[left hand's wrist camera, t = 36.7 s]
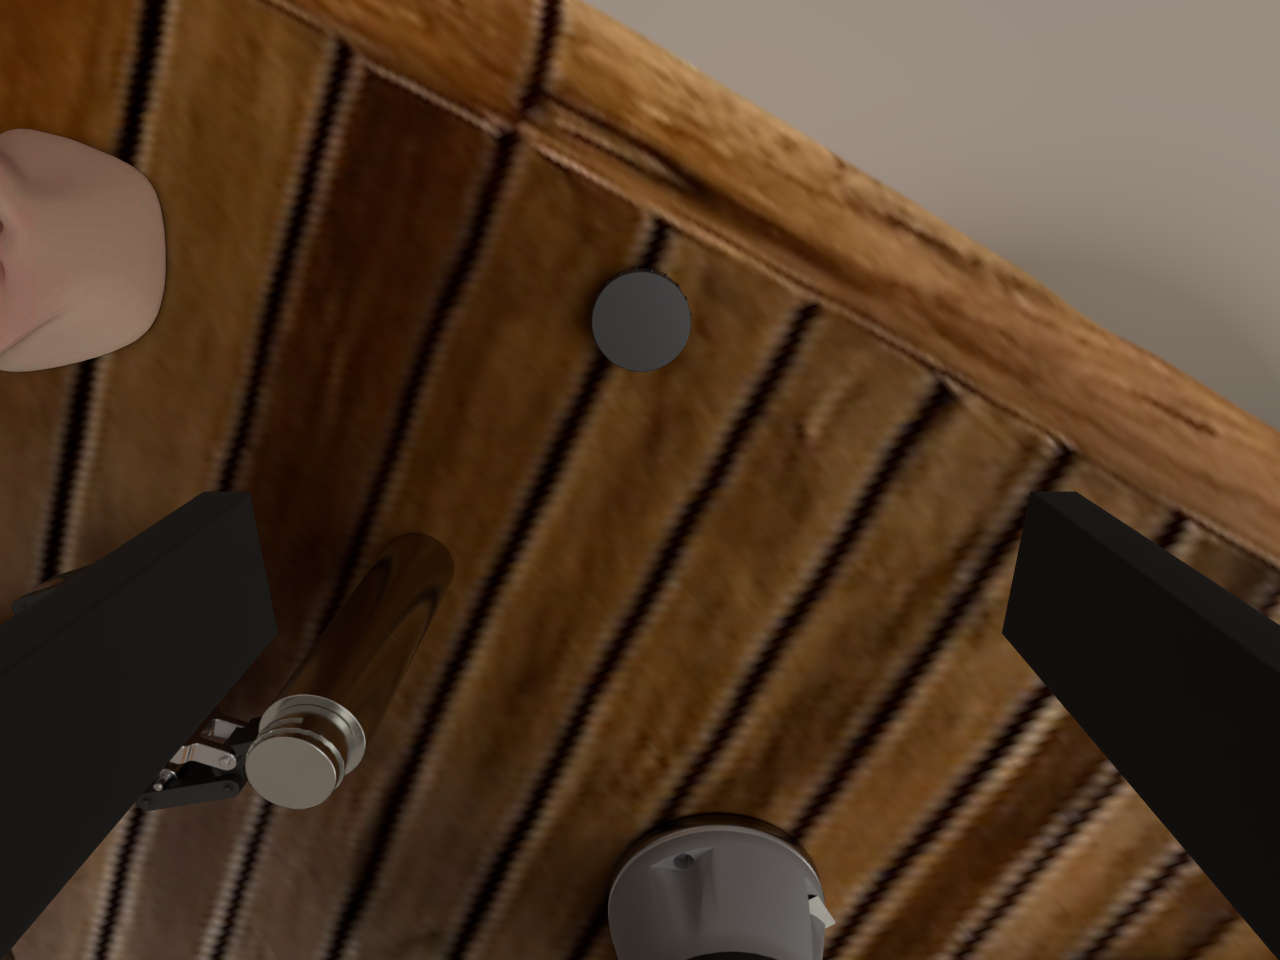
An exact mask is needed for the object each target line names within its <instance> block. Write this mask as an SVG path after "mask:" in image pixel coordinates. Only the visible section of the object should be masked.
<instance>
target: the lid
mask: <svg viewBox="0 0 1280 960" xmlns="http://www.w3.org/2000/svg"><path fill="white" fill-rule="evenodd" d="M597 297H598V298H597V300H596V303H595V305H594V306H593V308H592V311H591V312H593V313H592V324H591V328H592V330H593V335H594V338H595V342H596V343H597V345H598V347H599V348H600V350H601V352H602V353H603V354H604V355H605V356H606V357H607V358H608V359H609V360H610V361H611V362H613V363H614V364H616V365H617V366H619V367H621V368H624V369H627V370H631V371H637V372H646V371H652V370H656V369H659V368H661V367H663V366H665V365H667V364H668V363H670V362H671V361H672V360H674V359H675V358H676V357H677V356H678V355H679V353H680V352H681V351H682V349H683V348H684V347H685V344H686V342H687V339H688V336H689V333H690V326H691V317H692V315H691V313H690V311H689V307H688V304H687V302H688V300H687V298H686V296H685V297H684V295H683V293H682V292H681V290H680V286H679V284H678V283H677V284H676V283H675V282H674V281H673V280H672V279H670V278H669V277H668V275H667V274H666V273H665V274H663V273H661V272H658V271H656V270H653V268H651V269H646V268H637V267H635V269H630V270H627V271H624V272H623V271H620V274H618V275H616V276H615V277H613V278H612V279H611V280H610V279H608V281H607V283H606V285H605V286H604V287H603V289H602V290H601V292H600V291H599V292H598V294H597Z"/></svg>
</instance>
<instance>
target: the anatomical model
mask: <svg viewBox="0 0 1280 960" xmlns="http://www.w3.org/2000/svg"><path fill="white" fill-rule="evenodd" d="M165 275H166V247H165V232H164V224H163V217H162V211H161V207H160V203H159V200H158V197H157V195H156V192H155V190H154V188H153V187H152V185H151V183H150V182H149V181H148V179H147V178H146V177H145V176H144V175H143V174H142V173H141V172H139V171H138V170H137V169H135V168H134V167H132V166H131V165H129V164H127V163H125V162H123V161H122V160H120V159H118V158H116V157H114V156H112V155H109V154H107V153H104V152H102V151H100V150H97V149H95V148H92V147H90V146H87V145H85V144H83V143H80V142H77V141H74V140H72V139H69V138H65V137H61V136H57V135H53V134H49V133H45V132H41V131H36V130H31V129H13V130H9V131H7V132H4V133H2V134H0V370H3V371H11V372H23V371H35V370H42V369H49V368H55V367H60V366H64V365H68V364H73V363H77V362H81V361H84V360H88V359H92V358H95V357H98V356H101V355H104V354H107V353H110V352H113V351H115V350H118V349H120V348H122V347H125V346H127V345H129V344H130V343H132V342H134V341H136V340H137V339H138V338H140V337H141V336H142V335H143V334H144V333H146V332H147V330H148V329H149V328H150V327H151V325H152V324H153V322H154V320H155V318H156V316H157V314H158V311H159V308H160V305H161V301H162V297H163V292H164V285H165Z"/></svg>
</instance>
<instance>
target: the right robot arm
mask: <svg viewBox="0 0 1280 960" xmlns="http://www.w3.org/2000/svg"><path fill="white" fill-rule="evenodd" d="M92 565H93V564H92ZM90 566H91V565H89V566H85V567H82V568H79V569H76V570H73V571H70V572H66V573H63V574H60V575H57V576H54V577H52V578H50V579H49V580H47V581H46V582H44V583H43V584H41V585H39V586H38V587H36V588H35V589H33V590H31V591H30V592H28V593H27V594H25V595H24V596H22V597H21V598H19V599H18V600H16V601H15V602H14V603H13V605H12V609H13V612H14V613H15V615H17V614H18V613H20V612H21V611H23V610H24V609H26V608H27V607H29V606H31V605H32V604H34V603H35V602H37V601H38V600H40V599H41V598H43V597H44V596H46V595H47V594H49V593H50V592H52V591H53V590H55V589H56V588H58V587H59V586H61V585H63V584H64V583H66V582H67V581H69V580H70V579H72V578H73V577H75V576H76V575H78V574H79V573H81V572H82V571H84V570H85V569H87V568H88V567H90ZM261 718H262V717H257V718H253V719H251V720H250V722H249V723H248V722H245V721H242V720H239V719H235V718H232V717H229V716H226V715H223V714H221V713H220V708H219V707H218V706H216V707H215V708H214V709H213V711H212V712H211V713H210V714H209V715H208V717H207V718H206V719H205V720H204V721H203V722H202V724H201V725H200V726H199V727H198V728H197V730H196V731H195V732H194V733H193V734H192V735H191V737H190V738H189V739H188V740H187V741H186V743H185V744H184V745H183V746H182V747H181V748H180V750H179V751H178V752H177V753H176V754H175V756H174V757H173V758H172V759H171V760H170V761H169V763H168V764H167V765H166V766H165V767H164V769H163V770H162V771H161V772H160V773H159V774H158V776H157V777H156V778H155V779H154V780H153V782H152V783H151V784H150V785H149V786H148V787H147V789H146V790H145V791H144V792H143V793H142V795H141V796H140V797H139V798H138V799H137V800H136V804H137V806H138V807H140V808H141V809H143V810H147V811H150V810H157V809H163V808H170V807H176V806H182V805H189V804H195V803H201V802H208V801H214V800H220V799H227V798H233V797H236V796H237V795H238V794H239V793H240V791H241V790H242V788H243V787H244V785H245V784H246V782H247V781H248V778H247V775H246V770H245V762H246V754H247V752H248V750H249V748H250V746H251V744H252V743H253V741H254V740H255V739H256V738H257V736H258V735H259V724H260V720H261ZM208 736H216V737H219V738H222V739H225V740H226V741H225V743H224V744H220V743H217V742H214V741H210V740H207V739H205V738H206V737H208ZM2 960H13V959H12V957H11V954H10V952H8V953H7V954H6V955H5V956H4V958H3V959H2Z"/></svg>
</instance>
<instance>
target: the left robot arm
mask: <svg viewBox="0 0 1280 960" xmlns="http://www.w3.org/2000/svg"><path fill="white" fill-rule="evenodd" d="M277 634H278V630H277V625H276V621H275V616H274V611H273V606H272V601H271V596H270V591H269V586H268V581H267V576H266V571H265V566H264V561H263V556H262V551H261V546H260V541H259V536H258V531H257V526H256V521H255V516H254V511H253V506H252V501H251V496H250V492H203V493H201V494H200V495H198V496H197V497H195V498H194V499H192V500H190V501H189V502H187V503H186V504H184V505H183V506H181V507H180V508H178V509H177V510H175V511H174V512H172V513H171V514H169V515H168V516H166V517H165V518H163V519H162V520H160V521H158V522H157V523H155V524H154V525H152V526H151V527H149V528H148V529H146V530H145V531H143V532H142V533H140V534H139V535H137V536H136V537H134V538H133V539H131V540H130V541H128V542H127V543H125V544H123V545H122V546H120V547H119V548H117V549H116V550H114V551H113V552H111V553H110V554H108V555H107V556H105V557H104V558H102V559H101V560H99V561H98V562H96V563H95V564H93V565H91V566H90V567H88V568H87V569H85V570H84V571H82V572H81V573H79V574H78V575H76V576H75V577H73V578H72V579H70V580H69V581H67V582H66V583H64V584H63V585H61V586H59V587H58V588H56V589H55V590H53V591H52V592H50V593H49V594H47V595H46V596H44V597H43V598H41V599H40V600H38V601H37V602H35V603H34V604H32V605H31V606H29V607H27V608H26V609H24V610H23V611H21V612H20V613H18V614H17V615H15V616H14V617H12V618H11V619H9V620H8V621H6V622H5V623H3V624H2V625H0V960H2V959H3V958H4V956H5V955H6V954H7V953H8V952H9V951H10V949H11V948H12V947H13V946H14V945H15V943H16V942H17V941H18V940H19V939H20V938H21V936H22V935H23V934H24V933H25V932H26V930H27V929H28V928H29V927H30V926H31V925H32V923H33V922H34V921H35V920H36V919H37V917H38V916H39V915H40V914H41V913H42V912H43V910H44V909H45V908H46V907H47V906H48V904H49V903H50V902H51V901H52V900H53V899H54V897H55V896H56V895H57V894H58V893H59V891H60V890H61V889H62V888H63V887H64V886H65V884H66V883H67V882H68V881H69V880H70V878H71V877H72V876H73V875H74V874H75V873H76V871H77V870H78V869H79V868H80V867H81V865H82V864H83V863H84V862H85V861H86V860H87V858H88V857H89V856H90V855H91V854H92V852H93V851H94V850H95V849H96V848H97V847H98V845H99V844H100V843H101V842H102V841H103V839H104V838H105V837H106V836H107V835H108V834H109V832H110V831H111V830H112V829H113V828H114V826H115V825H116V824H117V823H118V822H119V821H120V819H121V818H122V817H123V816H124V815H125V813H126V812H127V811H128V810H129V809H130V808H131V806H132V805H133V804H134V803H135V802H136V800H137V799H138V798H139V797H140V796H141V795H142V793H143V792H144V791H145V790H146V789H147V787H148V786H149V785H150V784H151V783H152V782H153V780H154V779H155V778H156V777H157V776H158V774H159V773H160V772H161V771H162V770H163V769H164V767H165V766H166V765H167V764H168V763H169V761H170V760H171V759H172V758H173V757H174V756H175V754H176V753H177V752H178V751H179V750H180V748H181V747H182V746H183V745H184V744H185V743H186V741H187V740H188V739H189V738H190V737H191V735H192V734H193V733H194V732H195V731H196V730H197V728H198V727H199V726H200V725H201V724H202V722H203V721H204V720H205V719H206V718H207V717H208V715H209V714H210V713H211V712H212V711H213V709H214V708H215V707H216V706H217V705H218V704H219V702H220V701H221V700H222V699H223V698H224V696H225V695H226V694H227V693H228V692H229V691H230V689H231V688H232V687H233V686H234V685H235V683H236V682H237V681H238V680H239V679H240V678H241V676H242V675H243V674H244V673H245V672H246V670H247V669H248V668H249V667H250V666H251V665H252V663H253V662H254V661H255V660H256V659H257V657H258V656H259V655H260V654H261V653H262V652H263V650H264V649H265V648H266V647H267V646H268V644H269V643H270V642H271V641H272V640H273V639H274V637H275V636H276V635H277ZM1002 634H1003V635H1004V636H1005V637H1006V639H1007V640H1008V641H1009V642H1010V643H1011V644H1012V646H1013V647H1014V648H1015V649H1016V650H1017V652H1018V653H1019V654H1020V655H1021V656H1022V657H1023V659H1024V660H1025V661H1026V662H1027V663H1028V665H1029V666H1030V667H1031V668H1032V669H1033V670H1034V672H1035V673H1036V674H1037V675H1038V676H1039V678H1040V679H1041V680H1042V681H1043V682H1044V683H1045V685H1046V686H1047V687H1048V688H1049V689H1050V691H1051V692H1052V693H1053V694H1054V695H1055V696H1056V698H1057V699H1058V700H1059V701H1060V702H1061V704H1062V705H1063V706H1064V707H1065V708H1066V709H1067V711H1068V712H1069V713H1070V714H1071V715H1072V717H1073V718H1074V719H1075V720H1076V721H1077V722H1078V724H1079V725H1080V726H1081V727H1082V728H1083V730H1084V731H1085V732H1086V733H1087V734H1088V735H1089V737H1090V738H1091V739H1092V740H1093V741H1094V743H1095V744H1096V745H1097V746H1098V747H1099V748H1100V750H1101V751H1102V752H1103V753H1104V754H1105V756H1106V757H1107V758H1108V759H1109V760H1110V761H1111V763H1112V764H1113V765H1114V766H1115V767H1116V769H1117V770H1118V771H1119V772H1120V773H1121V774H1122V776H1123V777H1124V778H1125V779H1126V780H1127V782H1128V783H1129V784H1130V785H1131V786H1132V787H1133V789H1134V790H1135V791H1136V792H1137V793H1138V795H1139V796H1140V797H1141V798H1142V799H1143V800H1144V802H1145V803H1146V804H1147V805H1148V806H1149V808H1150V809H1151V810H1152V811H1153V812H1154V813H1155V815H1156V816H1157V817H1158V818H1159V819H1160V821H1161V822H1162V823H1163V824H1164V825H1165V826H1166V828H1167V829H1168V830H1169V831H1170V832H1171V834H1172V835H1173V836H1174V837H1175V838H1176V839H1177V841H1178V842H1179V843H1180V844H1181V845H1182V847H1183V848H1184V849H1185V850H1186V851H1187V852H1188V854H1189V855H1190V856H1191V857H1192V858H1193V860H1194V861H1195V862H1196V863H1197V864H1198V865H1199V867H1200V868H1201V869H1202V870H1203V871H1204V873H1205V874H1206V875H1207V876H1208V877H1209V878H1210V880H1211V881H1212V882H1213V883H1214V884H1215V886H1216V887H1217V888H1218V889H1219V890H1220V891H1221V893H1222V894H1223V895H1224V896H1225V897H1226V899H1227V900H1228V901H1229V902H1230V903H1231V904H1232V906H1233V907H1234V908H1235V909H1236V910H1237V912H1238V913H1239V914H1240V915H1241V916H1242V917H1243V919H1244V920H1245V921H1246V922H1247V923H1248V925H1249V926H1250V927H1251V928H1252V929H1253V930H1254V932H1255V933H1256V934H1257V935H1258V936H1259V938H1260V939H1261V940H1262V941H1263V942H1264V943H1265V945H1266V946H1267V947H1268V948H1269V949H1270V951H1271V952H1272V953H1273V954H1274V955H1275V956H1276V958H1277V959H1278V960H1280V625H1278V624H1277V623H1275V622H1274V621H1272V620H1271V619H1269V618H1268V617H1266V616H1265V615H1263V614H1262V613H1260V612H1259V611H1257V610H1256V609H1254V608H1253V607H1251V606H1249V605H1248V604H1246V603H1245V602H1243V601H1242V600H1240V599H1239V598H1237V597H1236V596H1234V595H1233V594H1231V593H1230V592H1228V591H1227V590H1225V589H1224V588H1222V587H1221V586H1219V585H1217V584H1216V583H1214V582H1213V581H1211V580H1210V579H1208V578H1207V577H1205V576H1204V575H1202V574H1201V573H1199V572H1198V571H1196V570H1195V569H1193V568H1192V567H1190V566H1189V565H1187V564H1185V563H1184V562H1182V561H1181V560H1179V559H1178V558H1176V557H1175V556H1173V555H1172V554H1170V553H1169V552H1167V551H1166V550H1164V549H1163V548H1161V547H1160V546H1158V545H1157V544H1155V543H1153V542H1152V541H1150V540H1149V539H1147V538H1146V537H1144V536H1143V535H1141V534H1140V533H1138V532H1137V531H1135V530H1134V529H1132V528H1131V527H1129V526H1128V525H1126V524H1125V523H1123V522H1122V521H1120V520H1118V519H1117V518H1115V517H1114V516H1112V515H1111V514H1109V513H1108V512H1106V511H1105V510H1103V509H1102V508H1100V507H1099V506H1097V505H1096V504H1094V503H1093V502H1091V501H1090V500H1088V499H1086V498H1085V497H1083V496H1082V495H1080V494H1079V493H1077V492H1030V496H1029V501H1028V506H1027V511H1026V516H1025V521H1024V526H1023V531H1022V536H1021V541H1020V546H1019V551H1018V556H1017V561H1016V566H1015V571H1014V576H1013V581H1012V586H1011V591H1010V596H1009V601H1008V606H1007V611H1006V616H1005V621H1004V625H1003V630H1002ZM608 919H609V926H610V934H611V938H612V941H613V944H614V947H615V950H616V954H617V957H618V960H822V957H823V946H824V935H825V928H827V927H829V926H831V925H833V924H835V921H834V920H833V918H832V916H831V915H830V913H829V912H828V910H827V909H826V907H825V900H824V894H823V889H822V886H821V882H820V878H819V875H818V872H817V869H816V866H815V864H814V862H813V860H812V859H811V857H810V856H809V854H808V853H807V852H806V850H805V849H804V848H803V847H802V846H801V845H800V844H799V843H798V842H797V841H796V840H795V839H793V838H792V837H791V836H789V835H788V834H786V833H785V832H783V831H781V830H780V829H778V828H776V827H774V826H772V825H769V824H767V823H764V822H761V821H758V820H754V819H751V818H746V817H741V816H733V815H704V816H696V817H691V818H686V819H682V820H678V821H675V822H672V823H670V824H667V825H664V826H662V827H660V828H658V829H656V830H654V831H652V832H650V833H649V834H647V835H646V836H644V837H643V838H641V839H640V840H639V841H637V842H636V843H635V844H634V845H633V846H632V847H631V848H630V849H629V850H628V851H627V852H626V853H625V854H624V856H623V857H622V858H621V860H620V861H619V863H618V864H617V866H616V868H615V870H614V872H613V875H612V878H611V881H610V887H609V901H608Z"/></svg>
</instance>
